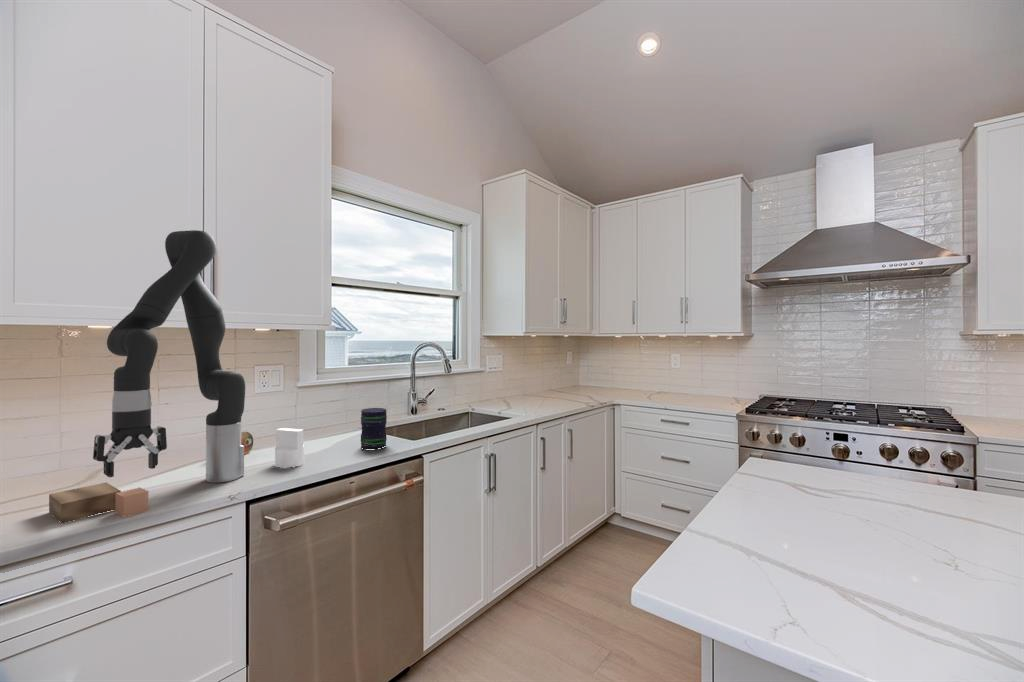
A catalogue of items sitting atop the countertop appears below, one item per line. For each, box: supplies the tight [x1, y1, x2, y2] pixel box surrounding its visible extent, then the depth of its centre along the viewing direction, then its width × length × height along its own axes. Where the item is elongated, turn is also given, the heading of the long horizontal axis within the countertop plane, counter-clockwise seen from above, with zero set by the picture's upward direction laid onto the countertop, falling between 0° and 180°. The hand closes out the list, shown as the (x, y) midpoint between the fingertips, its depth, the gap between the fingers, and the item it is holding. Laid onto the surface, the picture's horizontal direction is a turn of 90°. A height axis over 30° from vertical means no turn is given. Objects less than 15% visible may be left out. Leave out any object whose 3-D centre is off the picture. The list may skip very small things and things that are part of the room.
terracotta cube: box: [114, 487, 149, 518], centre depth 115 cm, size 5×5×5 cm
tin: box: [241, 431, 254, 455], centre depth 165 cm, size 15×3×8 cm, turn 168°
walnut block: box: [48, 482, 122, 524], centre depth 115 cm, size 11×11×5 cm
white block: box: [274, 427, 305, 469], centre depth 157 cm, size 9×9×12 cm
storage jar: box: [360, 407, 388, 449], centre depth 181 cm, size 10×10×15 cm
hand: (131, 472), depth 115 cm, fingers open, 8 cm apart
